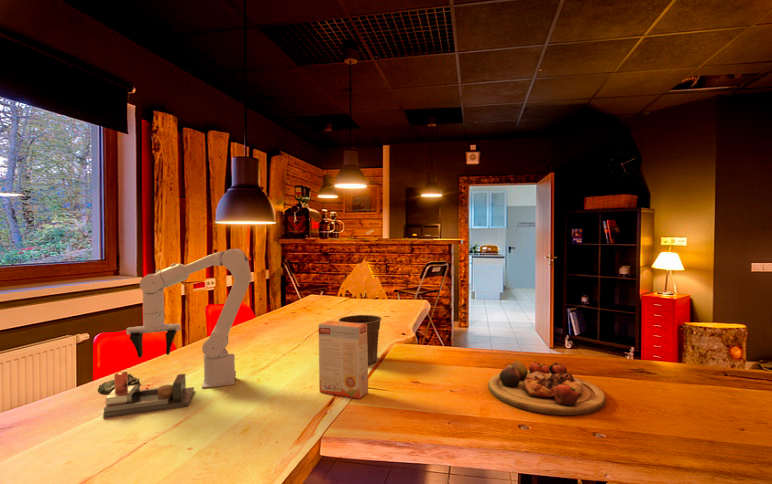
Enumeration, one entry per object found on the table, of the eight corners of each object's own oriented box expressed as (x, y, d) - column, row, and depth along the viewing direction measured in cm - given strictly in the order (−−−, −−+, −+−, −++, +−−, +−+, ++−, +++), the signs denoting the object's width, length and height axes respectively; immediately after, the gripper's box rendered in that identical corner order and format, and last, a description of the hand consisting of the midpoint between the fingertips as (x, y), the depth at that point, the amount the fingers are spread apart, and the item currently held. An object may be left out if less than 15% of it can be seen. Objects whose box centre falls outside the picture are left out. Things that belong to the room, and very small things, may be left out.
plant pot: (333, 358, 152) (333, 316, 152) (371, 352, 159) (371, 313, 159) (347, 370, 137) (346, 324, 137) (389, 363, 144) (388, 320, 144)
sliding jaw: (139, 394, 114) (139, 367, 114) (131, 405, 106) (131, 376, 106) (115, 397, 112) (115, 370, 112) (105, 409, 104) (105, 379, 104)
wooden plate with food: (624, 423, 96) (624, 389, 96) (490, 411, 103) (490, 380, 103) (586, 380, 127) (586, 355, 127) (486, 373, 134) (486, 349, 134)
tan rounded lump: (175, 393, 115) (175, 383, 115) (172, 399, 111) (172, 388, 111) (159, 395, 113) (159, 385, 113) (156, 401, 110) (156, 390, 110)
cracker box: (369, 392, 117) (368, 322, 117) (359, 400, 111) (358, 327, 111) (329, 385, 123) (328, 319, 123) (318, 392, 117) (317, 323, 117)
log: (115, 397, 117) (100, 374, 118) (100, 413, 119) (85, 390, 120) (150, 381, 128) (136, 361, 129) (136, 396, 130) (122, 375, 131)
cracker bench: (193, 390, 120) (193, 370, 120) (188, 406, 109) (187, 384, 109) (118, 400, 113) (117, 379, 113) (103, 418, 102) (103, 394, 102)
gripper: (122, 316, 116) (123, 361, 117) (177, 312, 121) (177, 356, 121) (129, 312, 123) (130, 355, 123) (181, 308, 128) (181, 350, 128)
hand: (154, 355), depth 123 cm, fingers open, 7 cm apart
